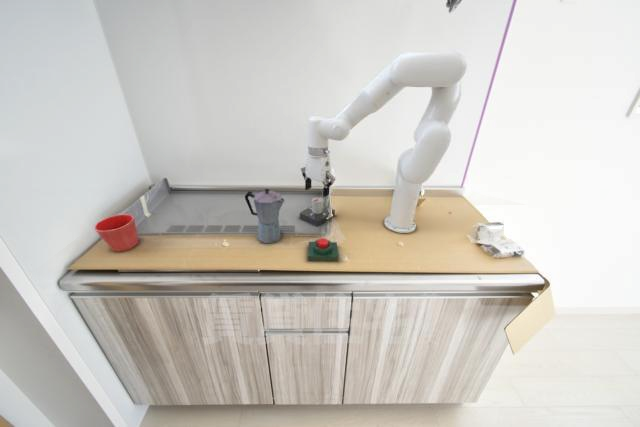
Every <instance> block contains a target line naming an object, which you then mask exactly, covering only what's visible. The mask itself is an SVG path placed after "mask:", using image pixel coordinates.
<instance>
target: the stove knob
mask: <svg viewBox="0 0 640 427" xmlns="http://www.w3.org/2000/svg"><path fill="white" fill-rule="evenodd" d="M323 206H324V199H323V198H322V197H320V196H319V197H317V196H316V197H313V198H312V199H311V207H312V212H313V213H315V214H320V213H322V212H323Z"/></svg>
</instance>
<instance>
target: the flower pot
mask: <svg viewBox="0 0 640 427" xmlns="http://www.w3.org/2000/svg"><path fill="white" fill-rule="evenodd" d="M94 230H95V231H96V232H97V234H98V235H99V236H100V238H101V240H103V241H104V242H105V243H106V244H107V246H108V247H109V248H110V249H111V250H112V251H113V252H124V251H125V252H126V251H128V250H131V249H132V248H134V247H135V246H137V245H138V243H139V236H138V229H137V225H136V222H135V217H134V215H132V214H128V213H127V214H124V213H122V214H116V215H112V216H109V217H106V218H104V219H102V220H100V221H98V222H97V223H96V224H95V225H94Z"/></svg>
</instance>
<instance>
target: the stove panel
mask: <svg viewBox="0 0 640 427" xmlns="http://www.w3.org/2000/svg"><path fill="white" fill-rule="evenodd" d="M327 207H328V206H326V205H323V212H322V213H320V214H315V213H313V212H312V206H310V207H307V208H306V209H304V210H302V211H300V212H299V220H302V221H304V222H306V223H309V224H310V225H312V226H315V227H319V226H321V225H323V224H324V223H326V222H328V220H327V219H326V218H327V217H328V215H329V212H328V210H327ZM331 209H332V214H333V217H332V218H334V217H335V216H336V209H334V208H331Z"/></svg>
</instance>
